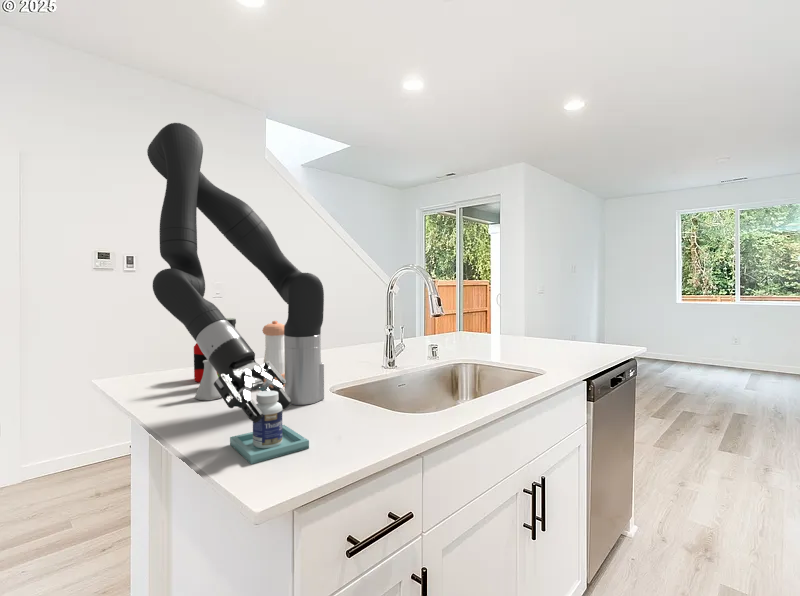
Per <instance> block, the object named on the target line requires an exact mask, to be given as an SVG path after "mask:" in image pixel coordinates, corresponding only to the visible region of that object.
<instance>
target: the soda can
mask: <svg viewBox="0 0 800 596" xmlns="http://www.w3.org/2000/svg"><path fill="white" fill-rule="evenodd" d="M204 360H208V359H207V358H206V357H205V355H204V354H203V353H202V351H201V349H200V348H199V346H198V344H197V342H196V343H195V344H194V346H193V367H194V368H193V375H194V376H193V378H194V379H193V380H194V381H195V382H196V383H200V382H201V379H202V377H203V372H204V363H203V361H204Z"/></svg>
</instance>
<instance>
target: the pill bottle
mask: <svg viewBox="0 0 800 596" xmlns="http://www.w3.org/2000/svg"><path fill="white" fill-rule="evenodd" d="M255 401H256V402H257V403H255V404H256V405H257V406H258V408H259V409H260V410H261V412H262V413H263V417H262V418H261V420H260V421H259V422H257V423H254V422H253V421H252V432H253V445H254V446H255V447H257V448H263V449H266V448H272V447H276V446H278V445H280V444H281V443H282V425H283V409H282V405H281V404H280V403H279V402H277V401H278V392H277V391H259V392H257V393H256V398H255Z"/></svg>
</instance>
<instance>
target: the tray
mask: <svg viewBox="0 0 800 596" xmlns="http://www.w3.org/2000/svg"><path fill="white" fill-rule="evenodd" d="M229 445H230V446H231V447H232V448H233V449H234V450H235V451H236V452H237V453H238V454H239V455H240V456H241V457H242V458H244V459H245V460H246V461H247V462H248V463H249V464H250V465H252V464H253V465H254V464H257V463H261V462H264V461H268V460H271V459H275V458H279V457H282V456H285V455H286V456H287V455H289V454H290V455H291V454H293V453H296V452H299V451H301V452H302V451H305V450H308V449H310V440H309V439H308V438H306V437H305V436H303V435H302V434H300V433H298V432H296V431H295V430H294V429H292V428H290V427H289V426H287V425H285V424H282V443H281V444H280V445H278V446H276V447H272V448H266V449H263V448H257V447H255V446H254V445H253V431H250V432H246V433H242V434H238V435H234V436H229Z"/></svg>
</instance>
